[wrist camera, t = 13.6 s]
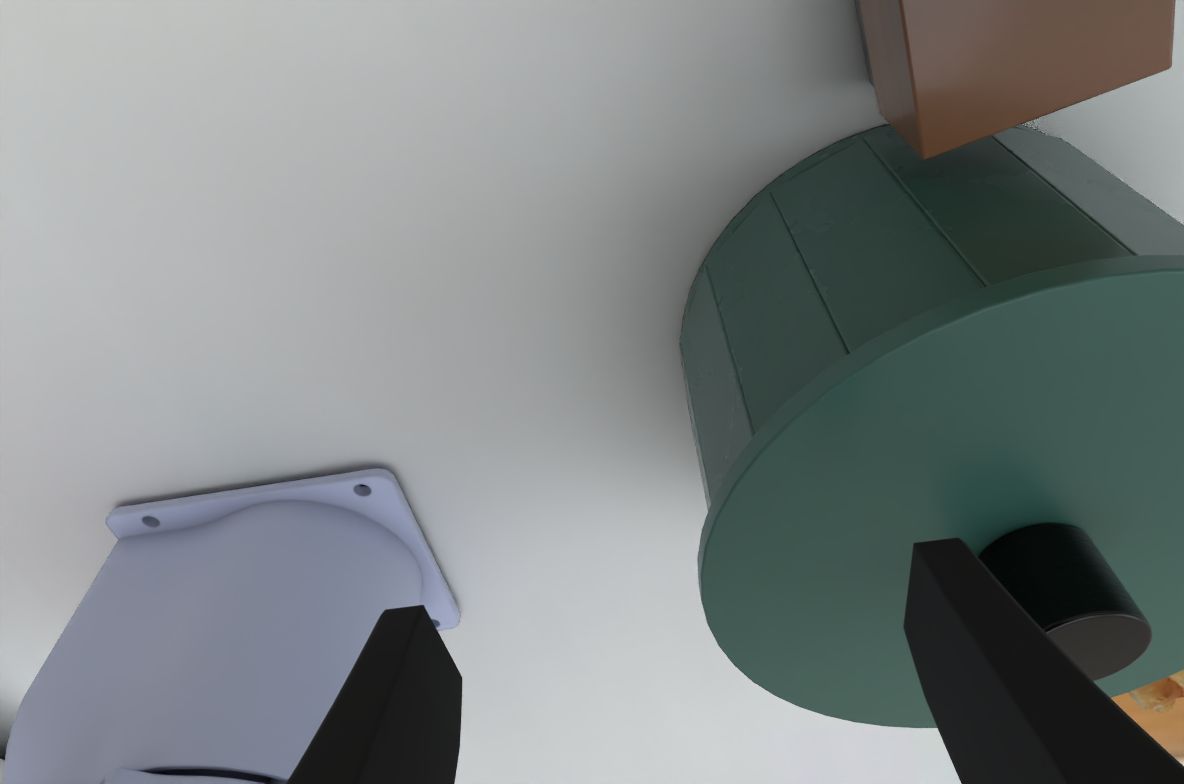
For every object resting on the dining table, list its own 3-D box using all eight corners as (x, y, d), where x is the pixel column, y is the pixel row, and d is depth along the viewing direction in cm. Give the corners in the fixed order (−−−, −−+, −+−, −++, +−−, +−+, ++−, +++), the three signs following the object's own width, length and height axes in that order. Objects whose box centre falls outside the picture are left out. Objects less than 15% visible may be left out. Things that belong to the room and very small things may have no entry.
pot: (700, 502, 25) (740, 723, 19) (654, 165, 18) (694, 350, 12) (1070, 450, 24) (1233, 667, 18) (1178, 69, 17) (1503, 220, 11)
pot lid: (718, 712, 20) (738, 840, 18) (656, 308, 12) (677, 437, 10) (1231, 653, 19) (1329, 782, 16) (1521, 164, 11) (1789, 271, 9)
